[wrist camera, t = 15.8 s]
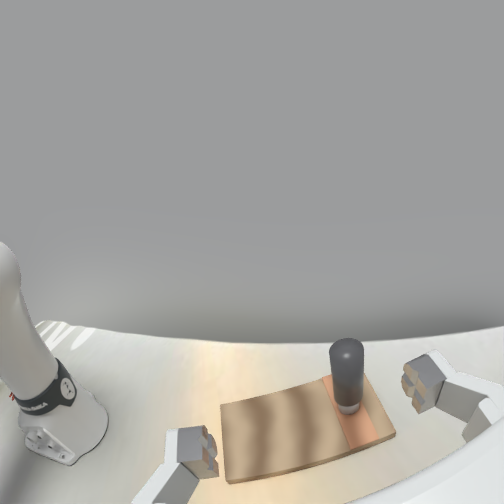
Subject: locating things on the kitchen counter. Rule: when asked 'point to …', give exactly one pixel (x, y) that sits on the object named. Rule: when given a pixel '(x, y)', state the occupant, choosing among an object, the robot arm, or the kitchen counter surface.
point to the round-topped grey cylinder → (347, 374)
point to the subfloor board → (297, 430)
